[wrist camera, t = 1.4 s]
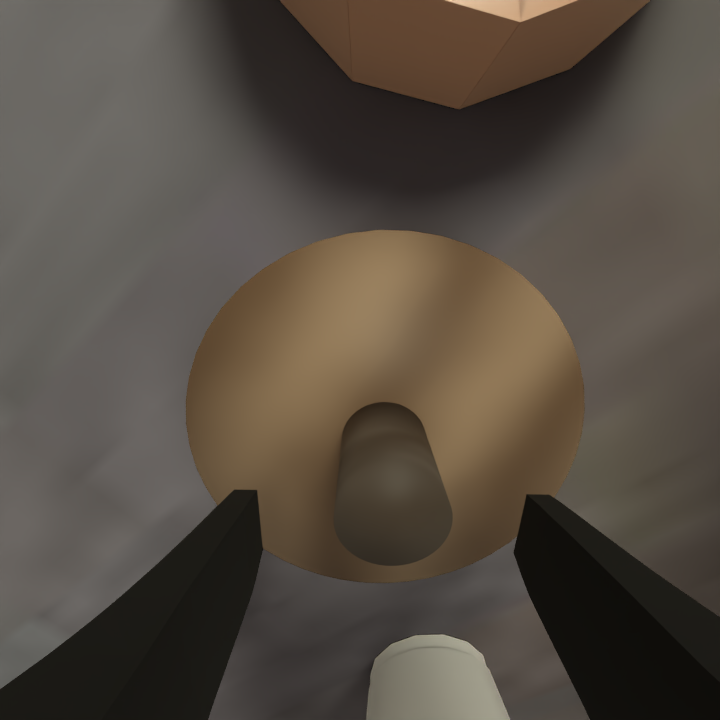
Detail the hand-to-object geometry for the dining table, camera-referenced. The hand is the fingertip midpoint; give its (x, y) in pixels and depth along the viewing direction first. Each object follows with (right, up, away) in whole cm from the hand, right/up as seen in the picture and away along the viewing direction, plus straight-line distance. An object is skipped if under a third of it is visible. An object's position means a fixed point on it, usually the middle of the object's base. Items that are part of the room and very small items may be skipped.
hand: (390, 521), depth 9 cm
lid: (0, +2, +5) cm, 5 cm away
